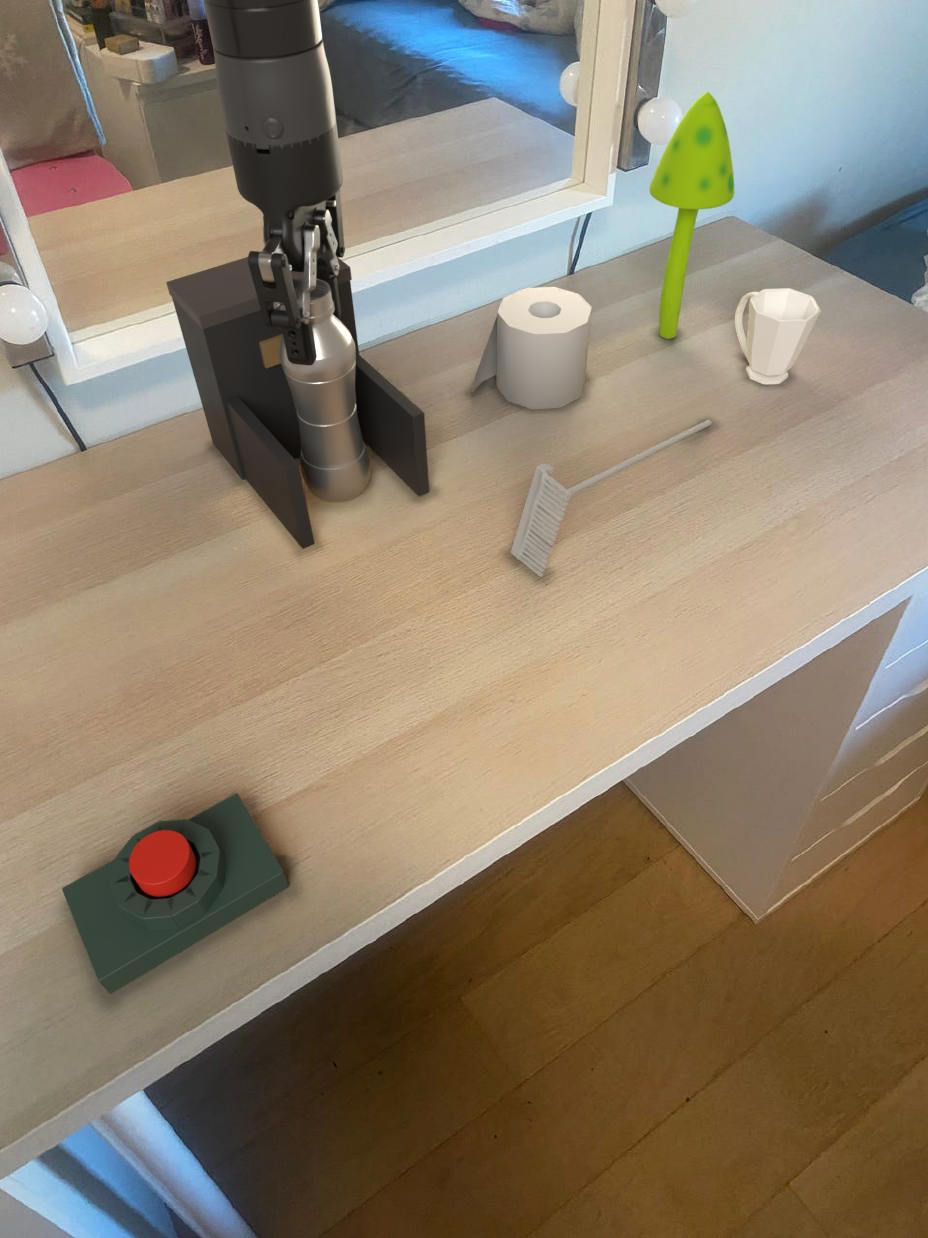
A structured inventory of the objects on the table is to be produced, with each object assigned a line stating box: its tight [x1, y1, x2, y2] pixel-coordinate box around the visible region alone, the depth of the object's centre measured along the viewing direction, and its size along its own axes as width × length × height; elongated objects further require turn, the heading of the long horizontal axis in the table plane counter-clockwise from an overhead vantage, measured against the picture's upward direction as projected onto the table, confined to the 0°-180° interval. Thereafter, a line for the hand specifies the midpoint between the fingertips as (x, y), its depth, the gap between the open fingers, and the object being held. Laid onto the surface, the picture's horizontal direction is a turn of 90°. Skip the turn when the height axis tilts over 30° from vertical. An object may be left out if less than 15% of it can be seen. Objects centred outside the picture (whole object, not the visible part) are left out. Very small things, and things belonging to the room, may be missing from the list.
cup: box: [734, 287, 822, 386], centre depth 94 cm, size 7×10×8 cm
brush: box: [510, 419, 713, 578], centre depth 82 cm, size 4×28×9 cm, turn 133°
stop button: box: [129, 830, 196, 897], centre depth 54 cm, size 4×4×2 cm
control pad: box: [61, 792, 290, 995], centre depth 56 cm, size 12×7×4 cm, turn 124°
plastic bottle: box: [279, 279, 371, 504], centre depth 77 cm, size 6×7×20 cm
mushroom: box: [648, 91, 735, 339], centre depth 93 cm, size 8×8×25 cm
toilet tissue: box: [470, 286, 593, 410], centre depth 92 cm, size 9×13×9 cm
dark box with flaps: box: [165, 256, 430, 550], centre depth 81 cm, size 19×14×17 cm
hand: (315, 339), depth 73 cm, fingers closed on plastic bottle, 6 cm apart
